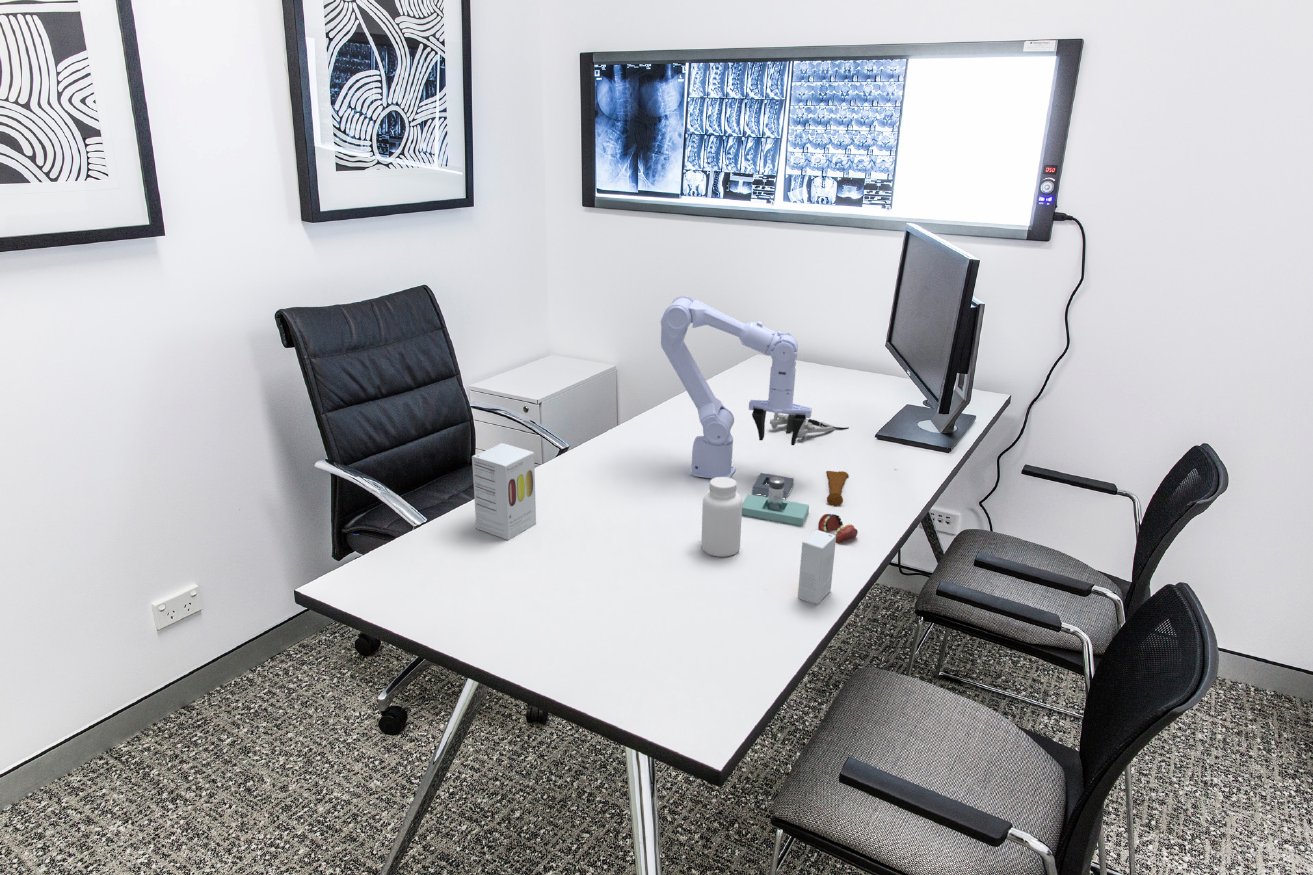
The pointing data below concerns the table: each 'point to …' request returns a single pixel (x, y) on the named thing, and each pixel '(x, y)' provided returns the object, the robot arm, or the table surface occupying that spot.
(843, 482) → the primitive tool
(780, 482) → the glass vial
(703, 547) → the pill bottle
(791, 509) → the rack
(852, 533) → the dentures
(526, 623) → the table surface
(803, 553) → the skincare box
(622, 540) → the table surface
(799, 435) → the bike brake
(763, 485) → the socket block
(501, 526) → the supplement box
